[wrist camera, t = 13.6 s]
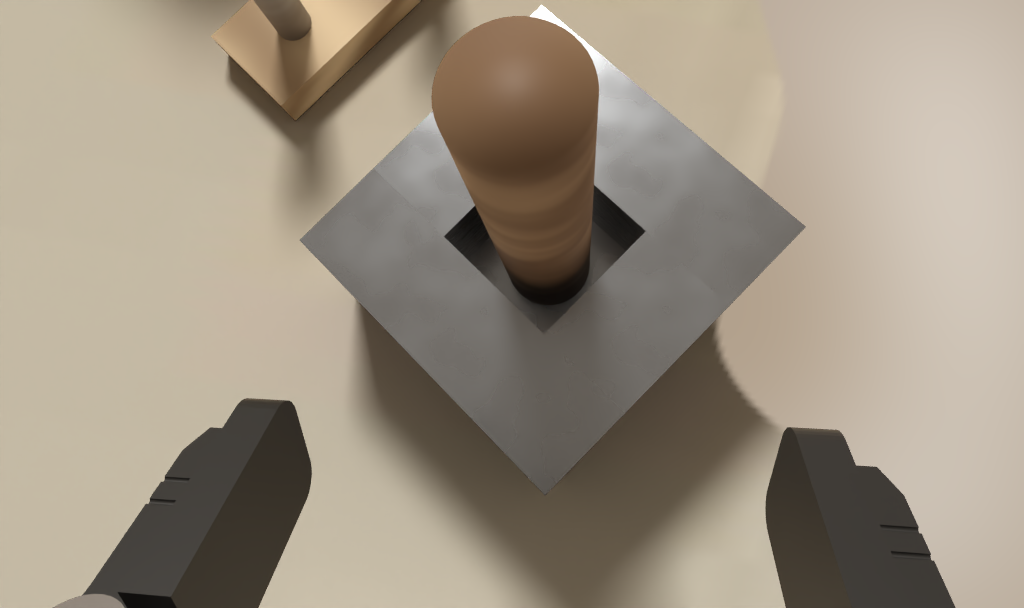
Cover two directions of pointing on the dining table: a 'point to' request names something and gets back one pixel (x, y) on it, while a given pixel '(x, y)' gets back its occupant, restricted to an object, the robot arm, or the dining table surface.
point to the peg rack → (305, 43)
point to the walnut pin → (525, 146)
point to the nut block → (585, 317)
